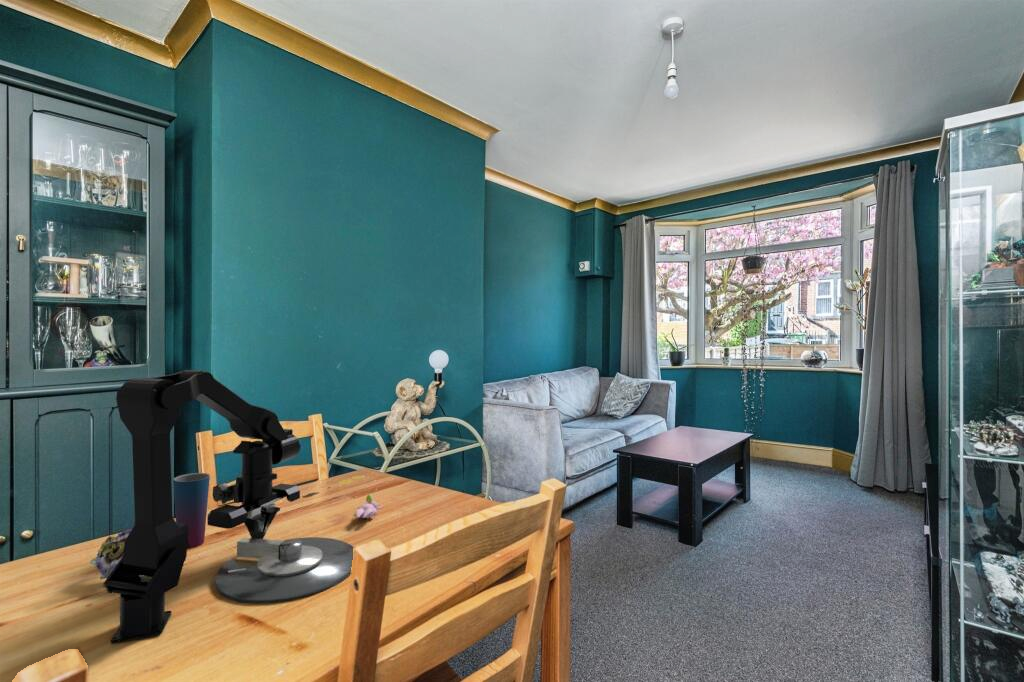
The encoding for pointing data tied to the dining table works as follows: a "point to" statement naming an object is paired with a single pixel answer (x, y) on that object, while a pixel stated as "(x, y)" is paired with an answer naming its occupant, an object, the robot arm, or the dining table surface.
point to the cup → (192, 504)
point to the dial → (280, 555)
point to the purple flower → (367, 508)
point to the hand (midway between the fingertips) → (257, 544)
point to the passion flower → (110, 554)
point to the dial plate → (254, 587)
